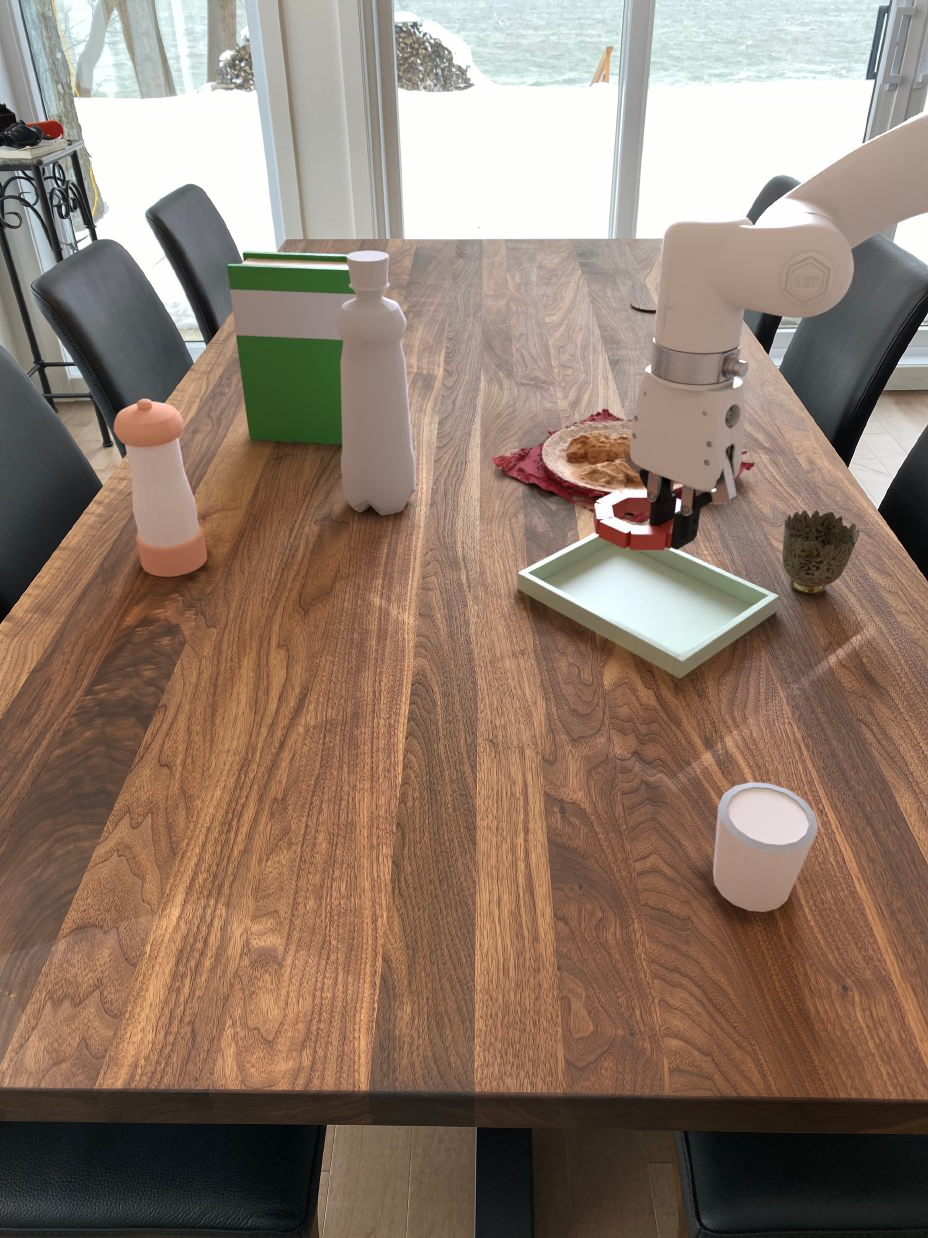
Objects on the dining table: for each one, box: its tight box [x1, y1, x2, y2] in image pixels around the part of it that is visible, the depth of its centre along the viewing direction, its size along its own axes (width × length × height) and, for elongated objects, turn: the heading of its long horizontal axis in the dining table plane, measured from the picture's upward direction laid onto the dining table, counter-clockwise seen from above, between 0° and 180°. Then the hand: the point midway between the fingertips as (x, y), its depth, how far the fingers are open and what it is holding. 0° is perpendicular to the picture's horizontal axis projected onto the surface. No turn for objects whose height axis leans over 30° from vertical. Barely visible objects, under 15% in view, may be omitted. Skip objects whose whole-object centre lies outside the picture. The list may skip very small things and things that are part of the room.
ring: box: [592, 490, 681, 550], centre depth 100 cm, size 10×10×2 cm
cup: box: [781, 509, 860, 597], centre depth 104 cm, size 8×7×8 cm
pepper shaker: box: [113, 398, 208, 578], centre depth 106 cm, size 7×7×19 cm
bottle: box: [335, 250, 417, 517], centre depth 114 cm, size 9×9×30 cm
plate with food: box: [491, 408, 755, 525], centre depth 129 cm, size 24×26×4 cm
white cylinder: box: [712, 781, 819, 913], centre depth 71 cm, size 7×7×7 cm
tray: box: [516, 532, 780, 679], centre depth 103 cm, size 22×17×2 cm
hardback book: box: [226, 250, 357, 446], centre depth 134 cm, size 18×7×24 cm, turn 83°
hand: (671, 538), depth 98 cm, fingers closed on ring, 2 cm apart
